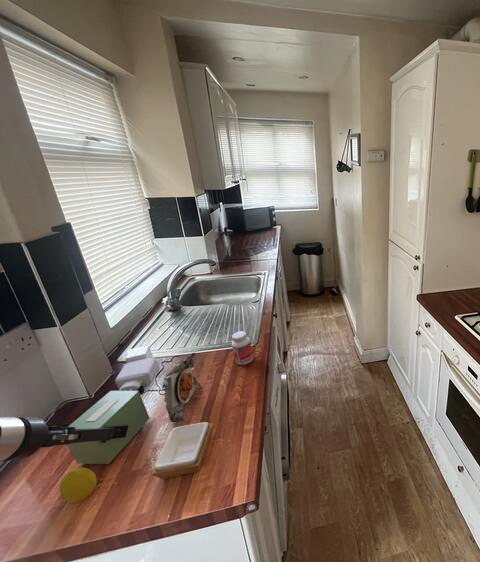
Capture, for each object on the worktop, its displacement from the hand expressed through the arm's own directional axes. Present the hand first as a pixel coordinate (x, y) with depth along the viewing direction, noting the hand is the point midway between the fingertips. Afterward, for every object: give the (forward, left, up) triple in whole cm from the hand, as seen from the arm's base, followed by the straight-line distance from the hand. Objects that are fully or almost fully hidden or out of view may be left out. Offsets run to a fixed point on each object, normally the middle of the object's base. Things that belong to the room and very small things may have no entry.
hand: (109, 431), depth 79 cm
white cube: (-18, +33, -5) cm, 38 cm away
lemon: (+5, -13, -5) cm, 15 cm away
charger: (-12, +23, -5) cm, 26 cm away
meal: (+11, +15, -5) cm, 19 cm away
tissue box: (0, +1, -4) cm, 4 cm away
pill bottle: (+19, +36, -5) cm, 41 cm away
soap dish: (+22, -3, -5) cm, 23 cm away
